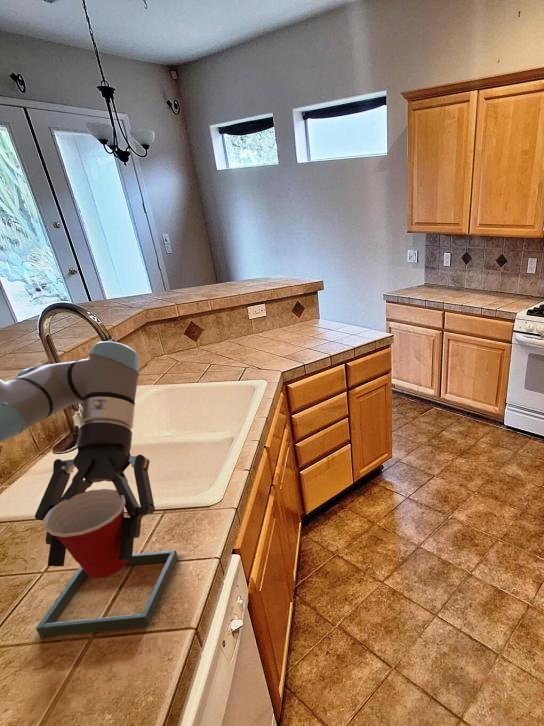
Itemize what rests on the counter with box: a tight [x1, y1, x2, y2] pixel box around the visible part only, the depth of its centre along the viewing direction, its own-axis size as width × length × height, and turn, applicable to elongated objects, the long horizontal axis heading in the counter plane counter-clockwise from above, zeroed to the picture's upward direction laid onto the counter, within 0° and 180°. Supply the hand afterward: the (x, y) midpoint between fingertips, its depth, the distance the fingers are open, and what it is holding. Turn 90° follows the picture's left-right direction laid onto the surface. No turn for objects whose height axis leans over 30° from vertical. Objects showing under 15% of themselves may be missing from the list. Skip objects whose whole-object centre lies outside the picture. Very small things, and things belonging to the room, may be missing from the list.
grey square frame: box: [35, 549, 179, 638], centre depth 74 cm, size 16×16×3 cm
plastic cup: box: [42, 488, 127, 579], centre depth 69 cm, size 11×11×12 cm
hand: (90, 562), depth 67 cm, fingers closed on plastic cup, 9 cm apart
